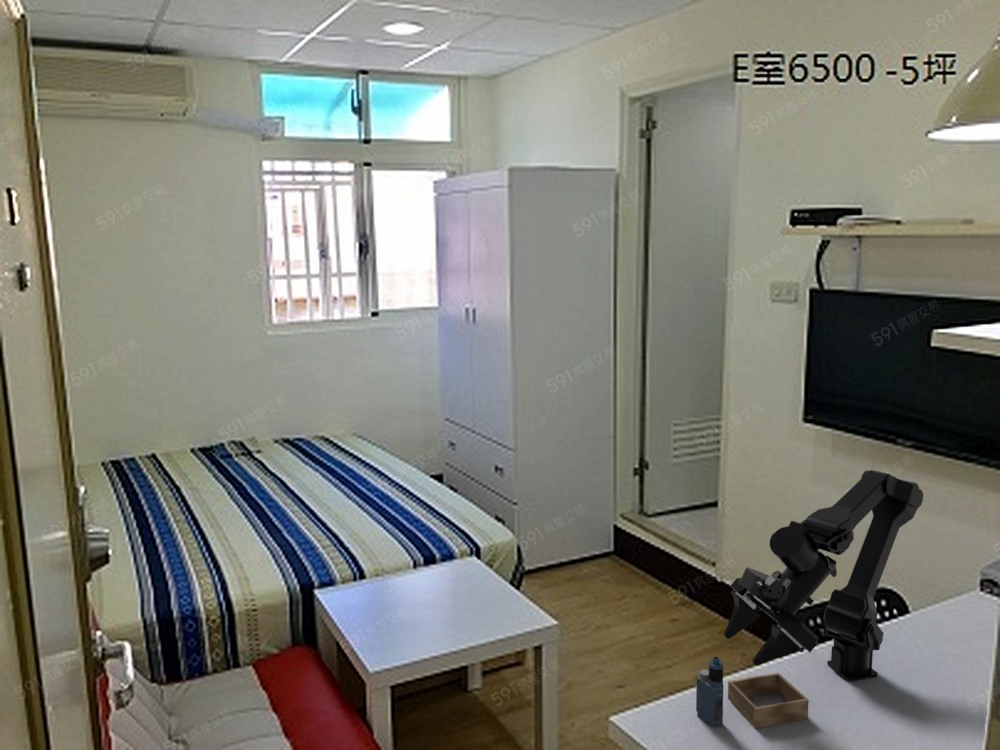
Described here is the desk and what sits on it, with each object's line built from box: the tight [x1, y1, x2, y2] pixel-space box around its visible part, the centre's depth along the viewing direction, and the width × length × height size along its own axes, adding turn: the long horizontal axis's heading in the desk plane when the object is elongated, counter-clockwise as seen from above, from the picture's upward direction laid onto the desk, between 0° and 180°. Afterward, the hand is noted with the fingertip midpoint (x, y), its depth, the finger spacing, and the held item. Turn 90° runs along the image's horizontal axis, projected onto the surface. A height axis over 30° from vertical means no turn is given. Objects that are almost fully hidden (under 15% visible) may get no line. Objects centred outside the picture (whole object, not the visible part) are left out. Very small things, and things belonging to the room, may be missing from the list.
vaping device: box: [695, 656, 725, 728], centre depth 134 cm, size 3×5×12 cm, turn 27°
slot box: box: [727, 672, 810, 729], centre depth 137 cm, size 10×9×4 cm
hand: (739, 650), depth 134 cm, fingers open, 9 cm apart
